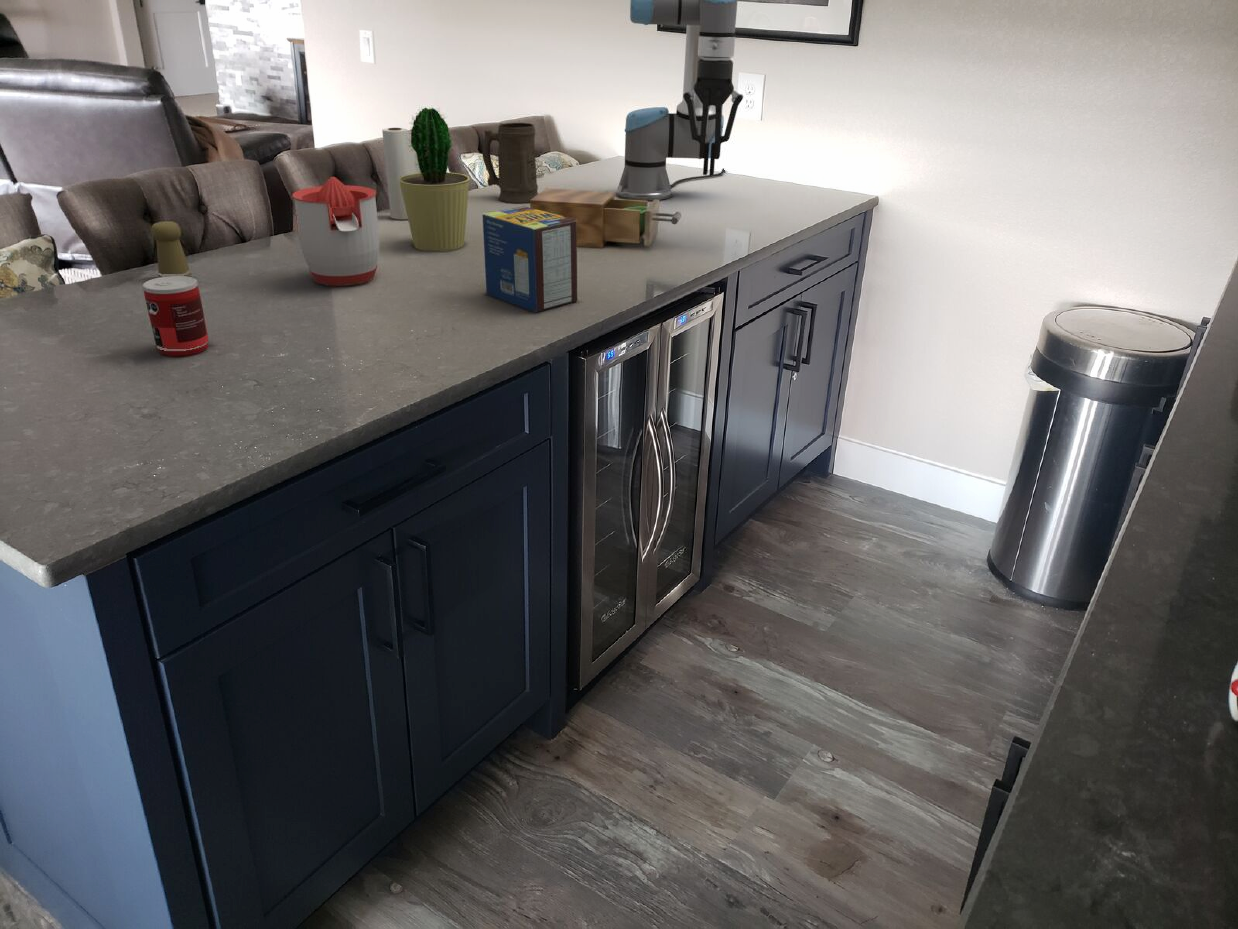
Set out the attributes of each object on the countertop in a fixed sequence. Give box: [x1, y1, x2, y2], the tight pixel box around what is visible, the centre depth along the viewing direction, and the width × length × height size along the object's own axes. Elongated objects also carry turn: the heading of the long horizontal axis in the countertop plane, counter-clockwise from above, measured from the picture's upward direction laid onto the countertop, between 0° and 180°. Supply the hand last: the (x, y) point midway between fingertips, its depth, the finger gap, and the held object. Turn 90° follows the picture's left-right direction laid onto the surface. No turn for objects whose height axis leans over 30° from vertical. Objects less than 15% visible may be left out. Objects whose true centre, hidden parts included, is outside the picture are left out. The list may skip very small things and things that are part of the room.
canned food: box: [142, 276, 210, 357], centre depth 148 cm, size 8×8×11 cm
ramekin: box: [624, 206, 649, 231], centre depth 215 cm, size 9×9×4 cm
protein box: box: [482, 205, 578, 313], centre depth 174 cm, size 10×15×16 cm
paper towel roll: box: [381, 127, 421, 220], centre depth 229 cm, size 7×6×21 cm
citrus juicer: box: [291, 176, 380, 287], centre depth 181 cm, size 16×17×20 cm
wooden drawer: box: [603, 198, 682, 247], centre depth 214 cm, size 21×13×8 cm, turn 79°
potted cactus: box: [399, 106, 471, 252], centre depth 204 cm, size 15×15×30 cm
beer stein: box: [481, 122, 539, 204], centre depth 252 cm, size 15×11×20 cm
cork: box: [150, 220, 193, 278], centre depth 182 cm, size 6×6×11 cm
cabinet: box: [529, 187, 616, 249], centre depth 217 cm, size 17×14×10 cm
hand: (708, 173), depth 206 cm, fingers closed
